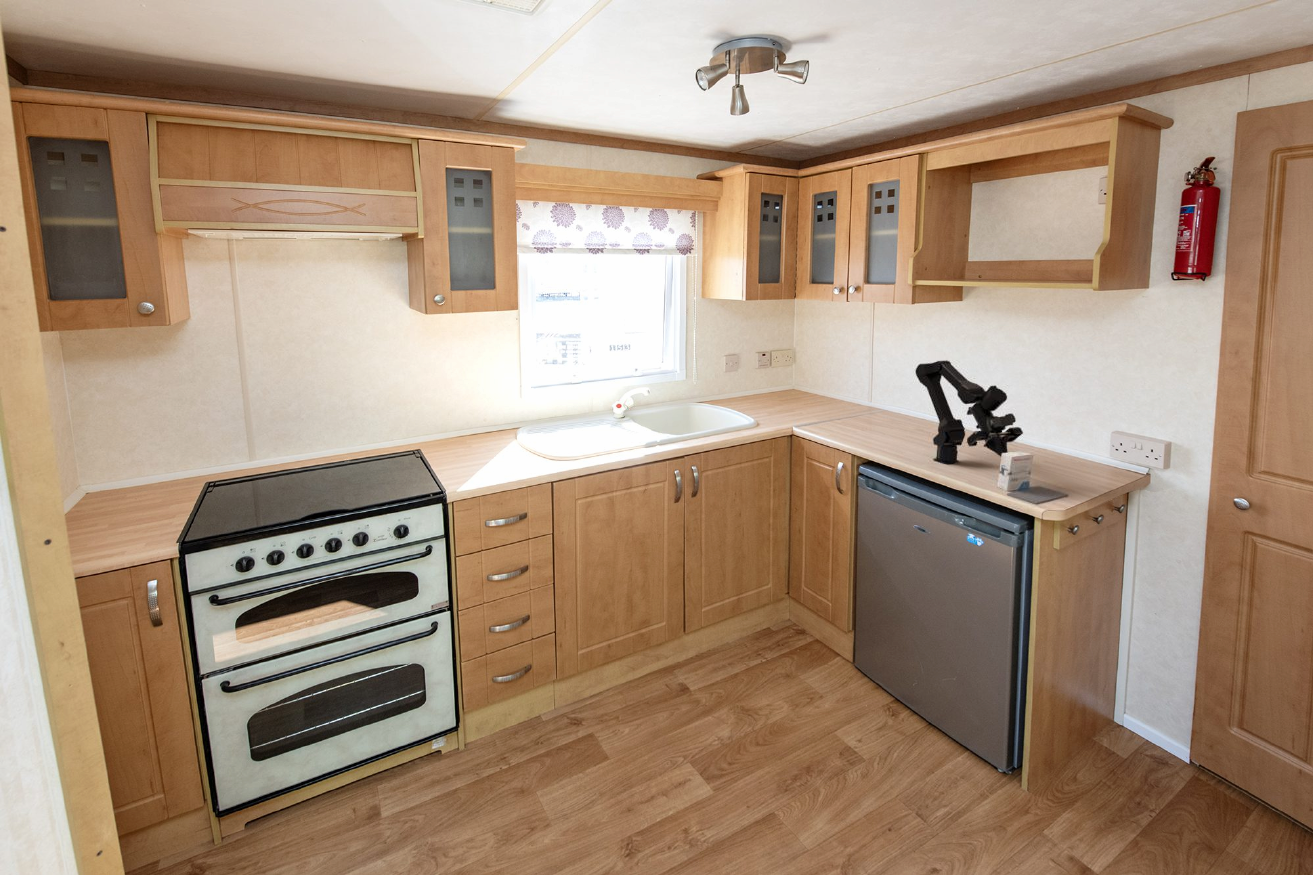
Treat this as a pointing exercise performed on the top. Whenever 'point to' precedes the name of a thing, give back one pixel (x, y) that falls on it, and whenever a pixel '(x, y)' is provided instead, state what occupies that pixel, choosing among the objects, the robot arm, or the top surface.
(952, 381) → the robot arm
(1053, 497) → the mat
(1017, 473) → the ink box
